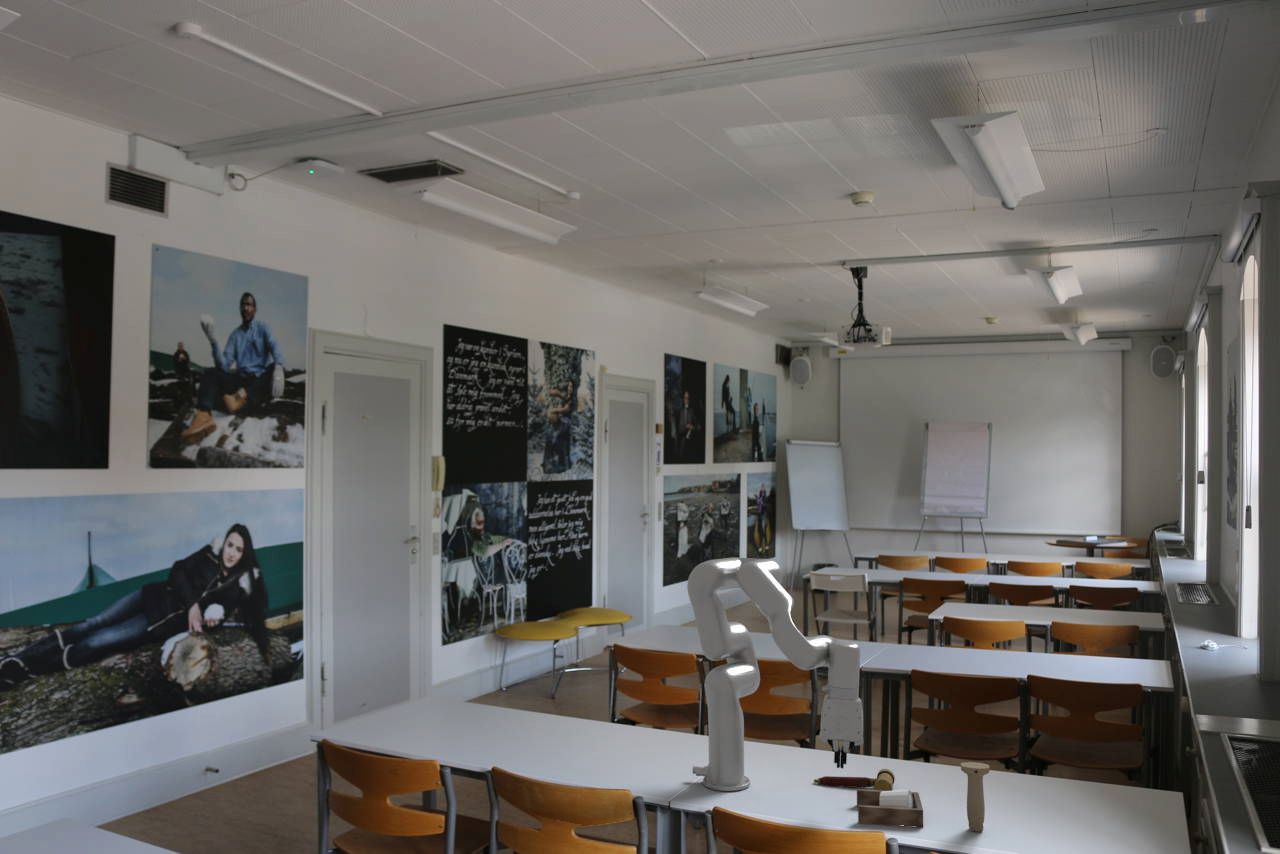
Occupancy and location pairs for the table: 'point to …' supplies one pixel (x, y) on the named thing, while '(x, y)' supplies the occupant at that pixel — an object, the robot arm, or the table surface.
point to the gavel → (861, 781)
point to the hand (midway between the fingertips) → (840, 766)
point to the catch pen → (887, 810)
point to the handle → (975, 793)
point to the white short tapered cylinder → (896, 798)
